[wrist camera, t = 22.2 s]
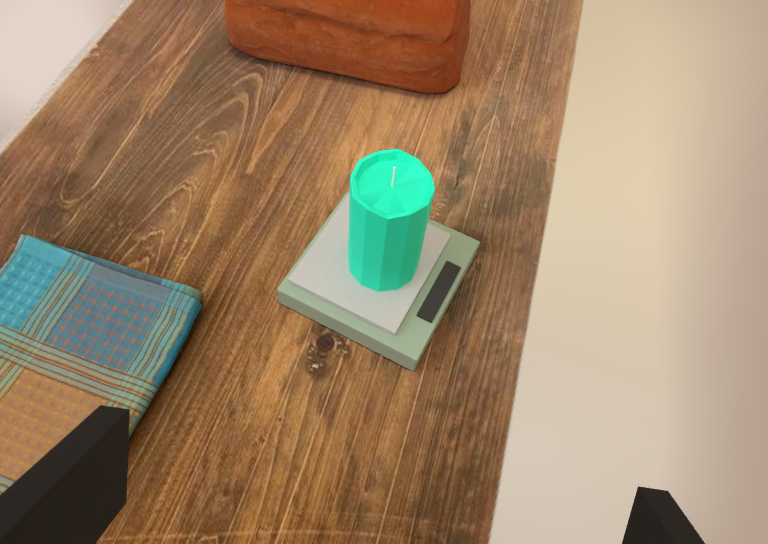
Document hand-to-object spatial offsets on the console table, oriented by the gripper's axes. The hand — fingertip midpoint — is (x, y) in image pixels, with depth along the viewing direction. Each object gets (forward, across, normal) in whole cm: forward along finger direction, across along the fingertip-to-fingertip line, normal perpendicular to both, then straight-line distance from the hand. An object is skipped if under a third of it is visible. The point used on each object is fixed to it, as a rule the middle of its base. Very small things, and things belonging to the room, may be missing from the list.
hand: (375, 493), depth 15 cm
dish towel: (+28, -26, -15) cm, 40 cm away
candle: (+36, -1, -2) cm, 36 cm away
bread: (+60, -9, +18) cm, 63 cm away
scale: (+38, -1, -4) cm, 38 cm away
